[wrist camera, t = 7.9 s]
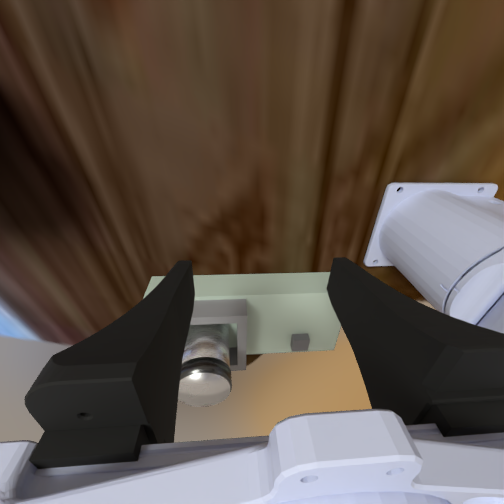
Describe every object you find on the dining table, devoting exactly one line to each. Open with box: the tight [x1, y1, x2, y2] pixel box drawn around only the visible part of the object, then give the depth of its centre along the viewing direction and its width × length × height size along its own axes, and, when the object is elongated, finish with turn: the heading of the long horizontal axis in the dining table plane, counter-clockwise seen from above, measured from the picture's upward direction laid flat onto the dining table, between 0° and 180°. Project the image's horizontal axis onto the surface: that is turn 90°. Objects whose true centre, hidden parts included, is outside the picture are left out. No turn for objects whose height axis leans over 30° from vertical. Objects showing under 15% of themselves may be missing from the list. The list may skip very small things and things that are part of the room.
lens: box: [178, 324, 232, 407], centre depth 21 cm, size 4×4×6 cm
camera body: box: [143, 272, 341, 371], centre depth 25 cm, size 18×8×5 cm, turn 88°
